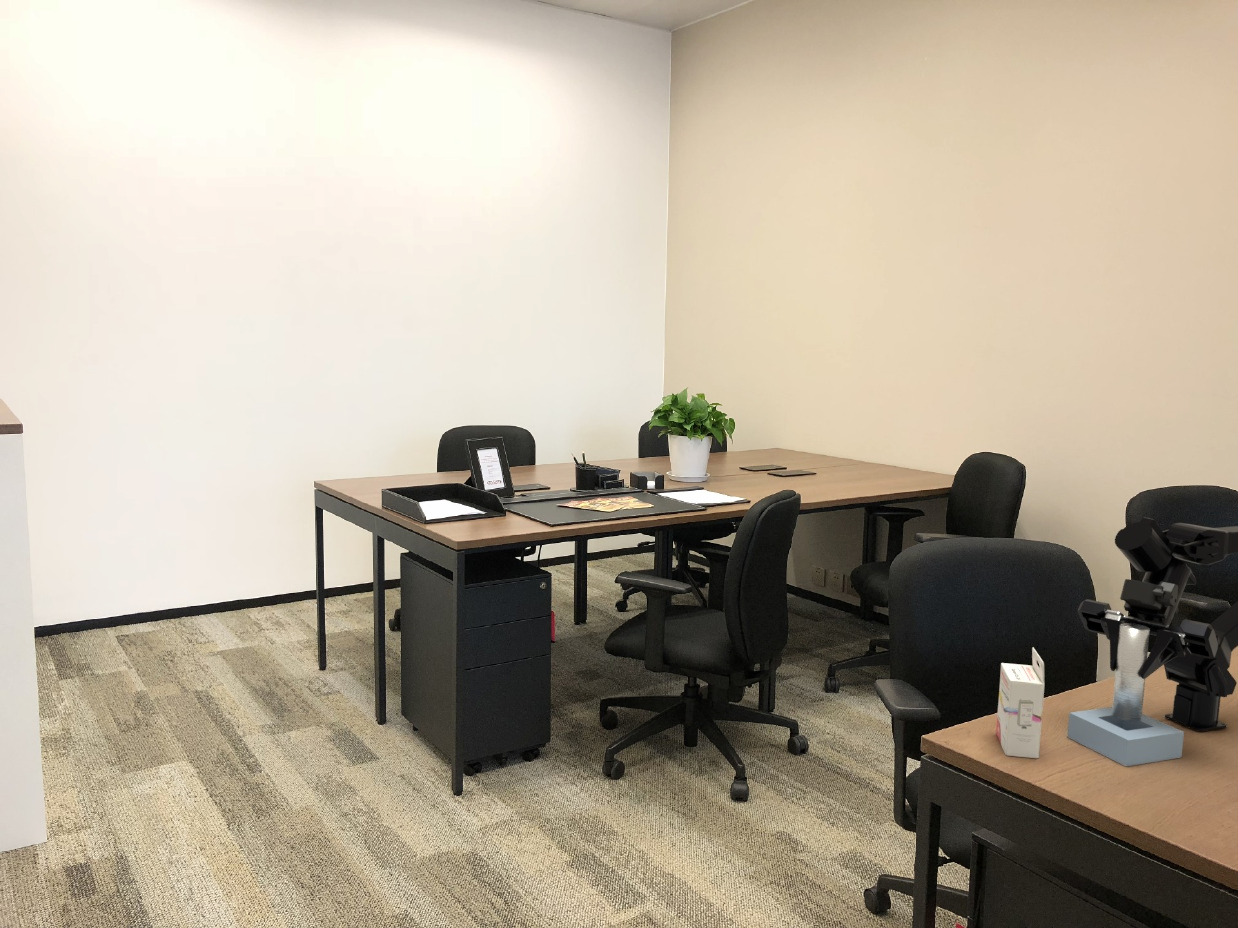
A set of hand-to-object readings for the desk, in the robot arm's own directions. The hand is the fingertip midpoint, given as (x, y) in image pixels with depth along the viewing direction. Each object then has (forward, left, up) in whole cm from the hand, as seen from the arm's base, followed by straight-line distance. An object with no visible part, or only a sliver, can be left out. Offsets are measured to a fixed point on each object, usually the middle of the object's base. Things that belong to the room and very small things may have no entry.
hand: (1127, 673), depth 144 cm
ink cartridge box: (+15, -6, -12) cm, 20 cm away
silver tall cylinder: (-1, -1, -7) cm, 7 cm away
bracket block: (-1, -1, -12) cm, 12 cm away
